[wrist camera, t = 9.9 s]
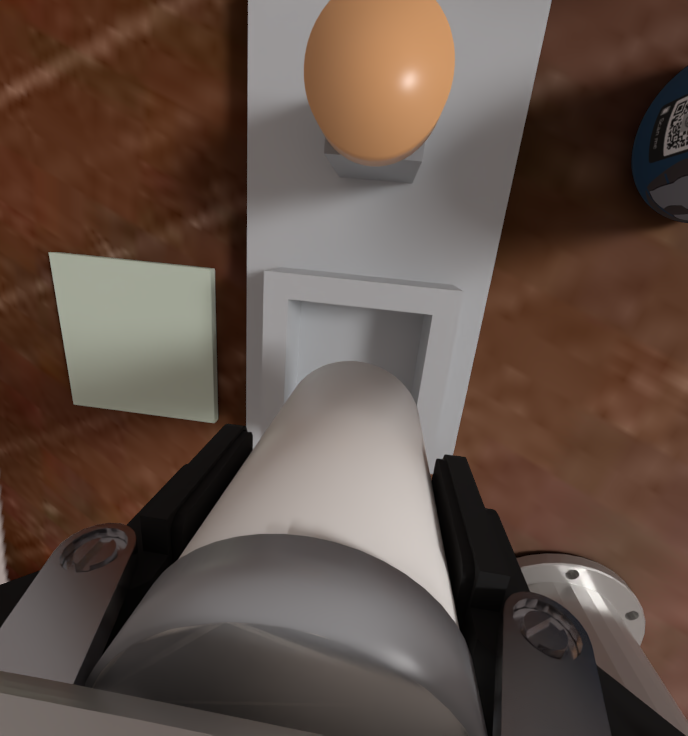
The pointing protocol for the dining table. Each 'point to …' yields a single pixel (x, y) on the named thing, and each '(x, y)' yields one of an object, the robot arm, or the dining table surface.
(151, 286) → the mat
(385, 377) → the cartridge
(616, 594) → the robot arm
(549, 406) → the dining table surface
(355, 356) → the housing
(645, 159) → the soda can
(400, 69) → the brown egg
